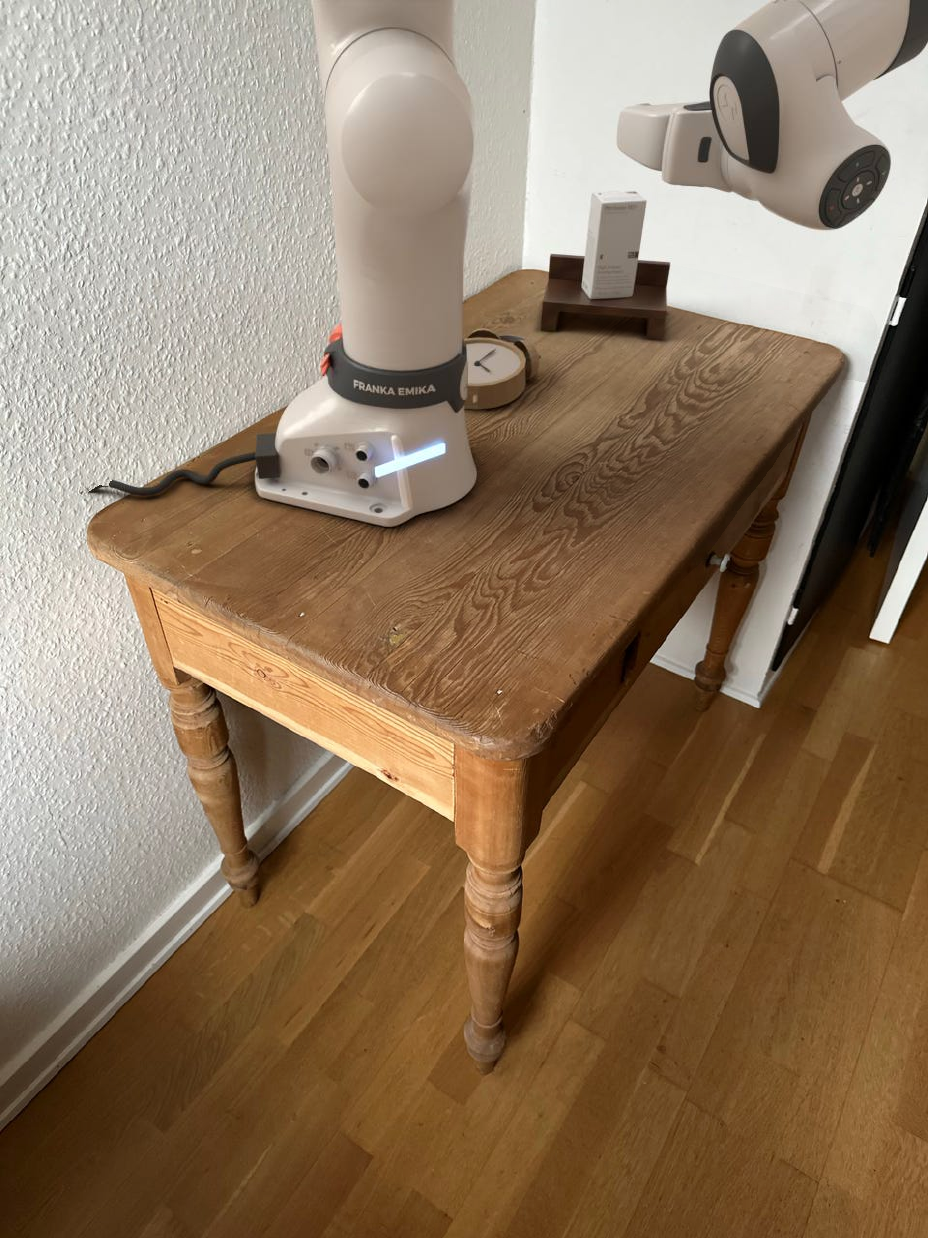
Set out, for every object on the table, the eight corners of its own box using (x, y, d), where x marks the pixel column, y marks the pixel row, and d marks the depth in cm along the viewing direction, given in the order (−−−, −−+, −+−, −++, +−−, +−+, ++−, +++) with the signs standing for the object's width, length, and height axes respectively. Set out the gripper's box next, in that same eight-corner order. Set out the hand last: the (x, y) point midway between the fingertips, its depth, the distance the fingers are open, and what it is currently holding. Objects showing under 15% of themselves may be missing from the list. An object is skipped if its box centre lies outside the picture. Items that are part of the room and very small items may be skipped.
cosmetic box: (590, 300, 118) (600, 202, 110) (579, 287, 121) (589, 191, 113) (635, 297, 119) (648, 199, 111) (623, 284, 122) (635, 188, 114)
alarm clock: (408, 369, 105) (482, 306, 112) (414, 404, 108) (485, 341, 116) (488, 397, 100) (560, 329, 107) (491, 433, 103) (560, 365, 111)
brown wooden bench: (540, 330, 120) (544, 277, 115) (546, 304, 127) (550, 253, 122) (662, 340, 118) (670, 287, 114) (661, 312, 125) (670, 261, 120)
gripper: (851, 97, 87) (768, 69, 97) (663, 112, 82) (596, 80, 91) (832, 168, 91) (755, 134, 101) (653, 186, 86) (590, 148, 96)
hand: (678, 108), depth 96 cm, fingers open, 8 cm apart
